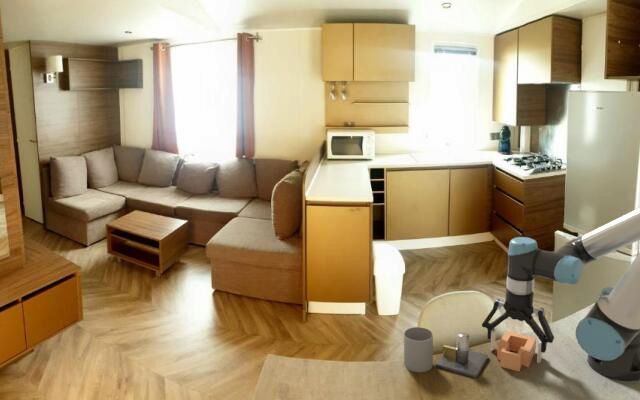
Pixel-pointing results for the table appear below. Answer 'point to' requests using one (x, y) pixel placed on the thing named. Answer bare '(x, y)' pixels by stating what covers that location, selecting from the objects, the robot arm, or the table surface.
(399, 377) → the table surface
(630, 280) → the robot arm
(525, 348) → the orange bottle-shaped mold
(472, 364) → the post base
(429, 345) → the cup
